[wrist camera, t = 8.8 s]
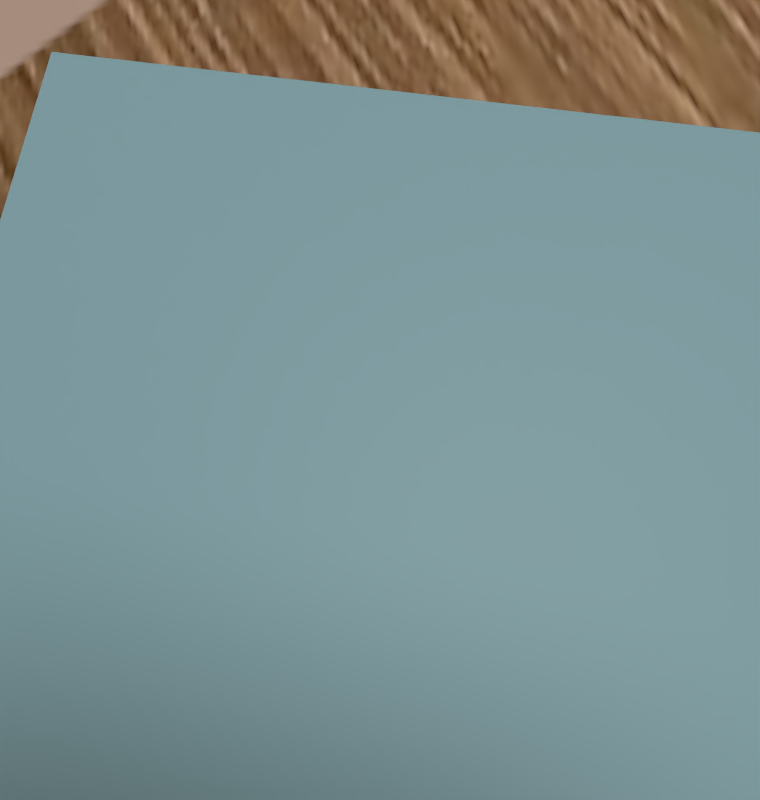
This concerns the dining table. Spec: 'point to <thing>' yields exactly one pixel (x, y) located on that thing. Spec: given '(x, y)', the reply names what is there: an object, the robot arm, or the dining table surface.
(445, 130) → the carton
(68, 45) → the dining table surface
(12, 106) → the dining table surface
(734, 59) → the dining table surface
